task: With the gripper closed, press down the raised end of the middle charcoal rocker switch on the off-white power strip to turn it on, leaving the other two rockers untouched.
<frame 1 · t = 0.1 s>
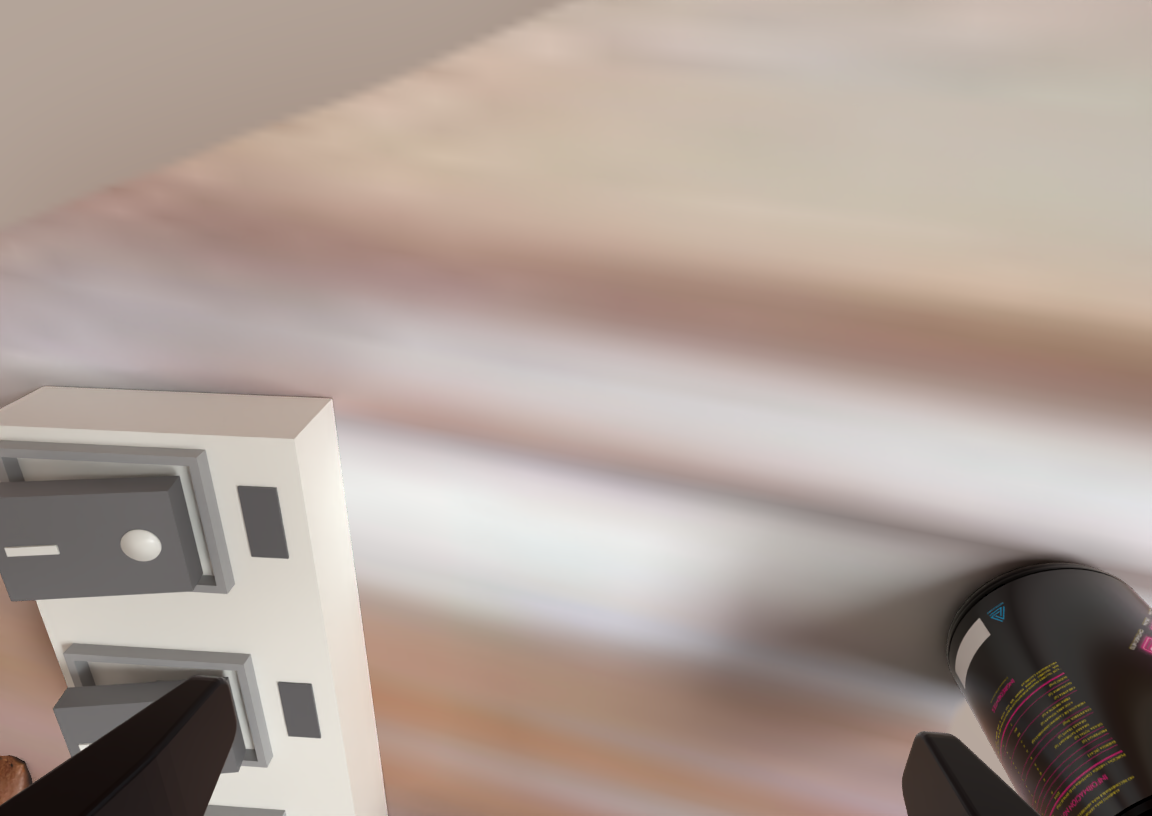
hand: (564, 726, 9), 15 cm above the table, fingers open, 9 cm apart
power strip: (243, 644, 29), on the table
supplement container: (1032, 625, 26), on the table
rocker 1: (94, 539, 21), point 4 cm above the table, hinge at 10.0°
rocker middle: (154, 731, 25), point 4 cm above the table, hinge at 10.0°
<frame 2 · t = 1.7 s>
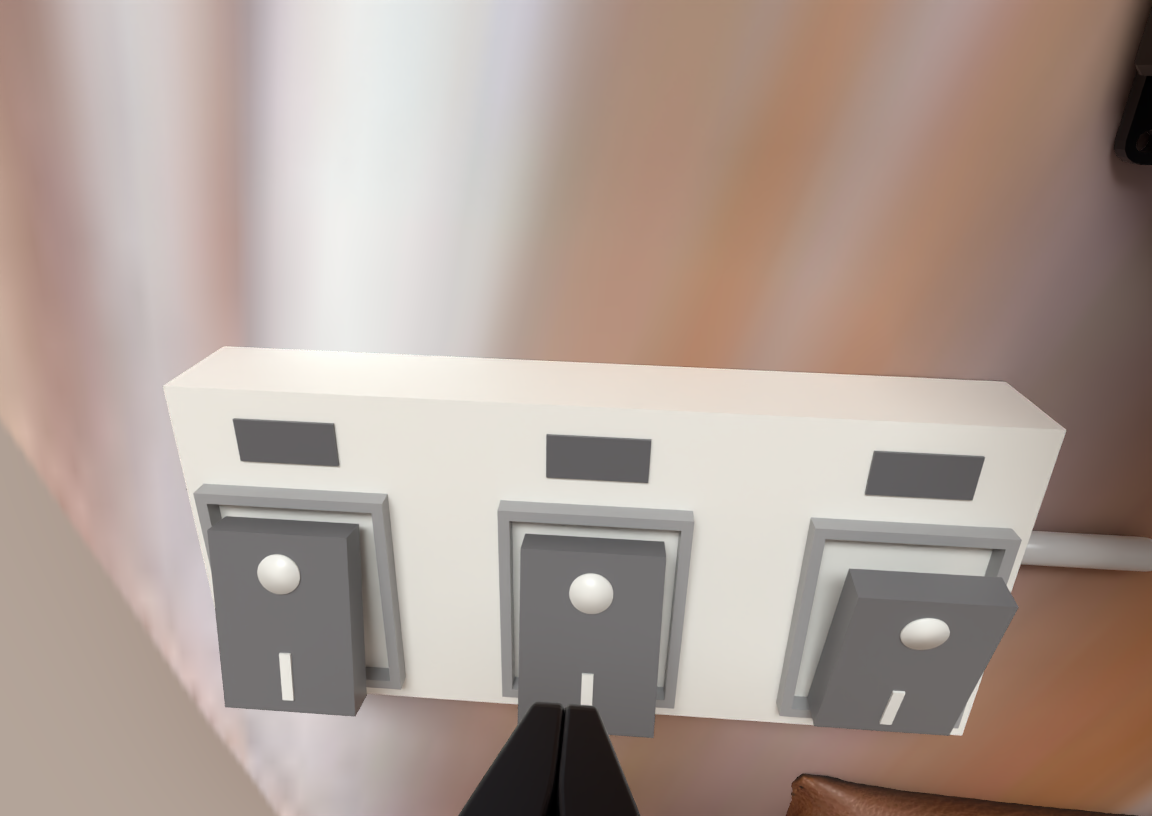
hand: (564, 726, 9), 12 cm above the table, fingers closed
rocker 2: (902, 657, 18), point 4 cm above the table, hinge at -10.0°
power strip: (597, 514, 22), on the table
rocker 1: (290, 617, 19), point 4 cm above the table, hinge at 10.0°
rocker middle: (589, 637, 19), point 4 cm above the table, hinge at 10.0°
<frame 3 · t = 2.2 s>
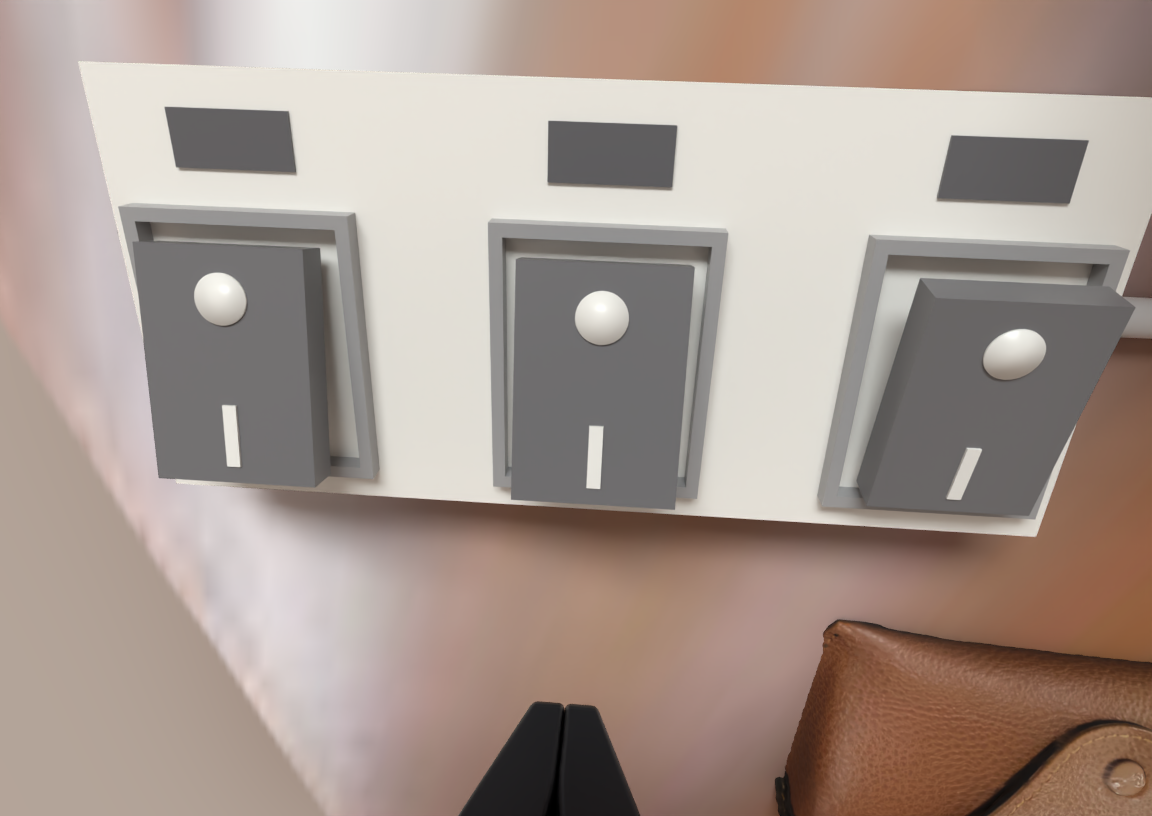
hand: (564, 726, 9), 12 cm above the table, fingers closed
sunglasses case: (1044, 720, 25), on the table
rocker 2: (978, 405, 15), point 4 cm above the table, hinge at -10.0°
power strip: (606, 287, 19), on the table
rocker 1: (237, 365, 16), point 4 cm above the table, hinge at 10.0°
rocker middle: (598, 384, 15), point 4 cm above the table, hinge at 10.0°
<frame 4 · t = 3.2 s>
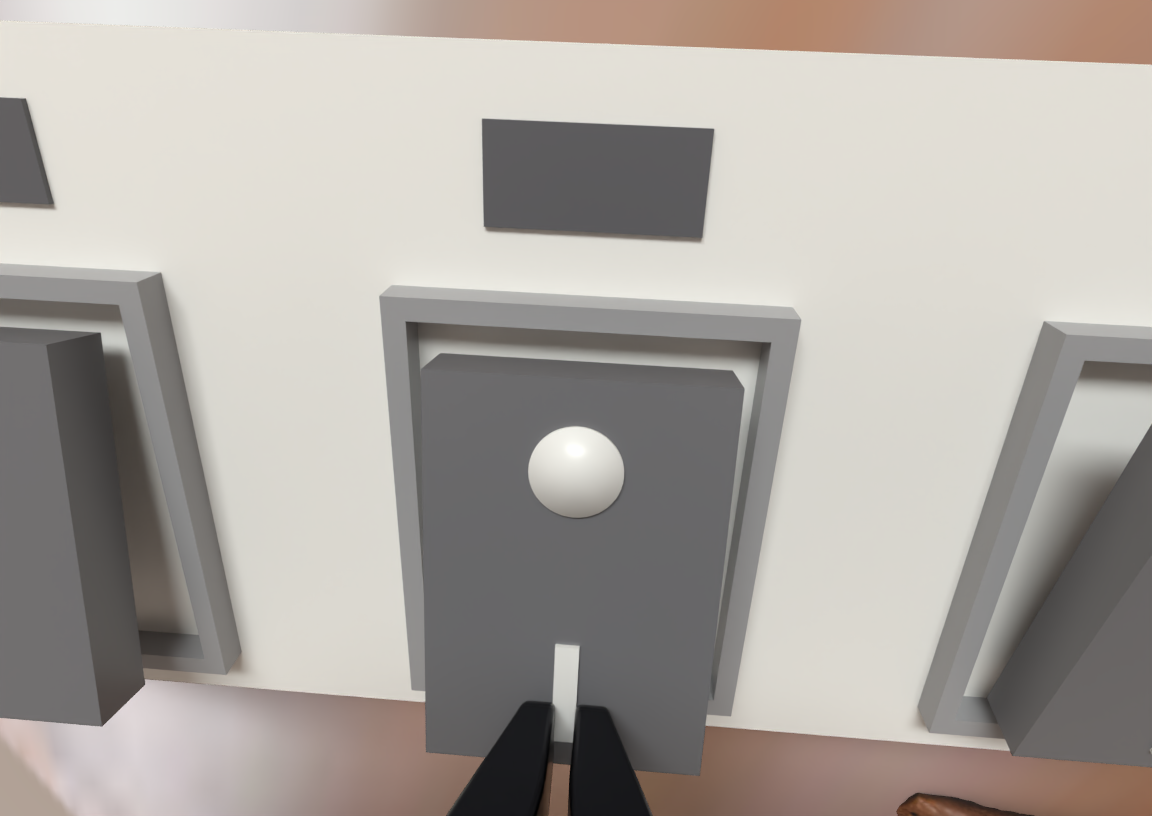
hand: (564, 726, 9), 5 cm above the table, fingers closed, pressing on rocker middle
power strip: (592, 369, 13), on the table
rocker middle: (572, 570, 9), point 4 cm above the table, hinge at 8.9°, touching gripper
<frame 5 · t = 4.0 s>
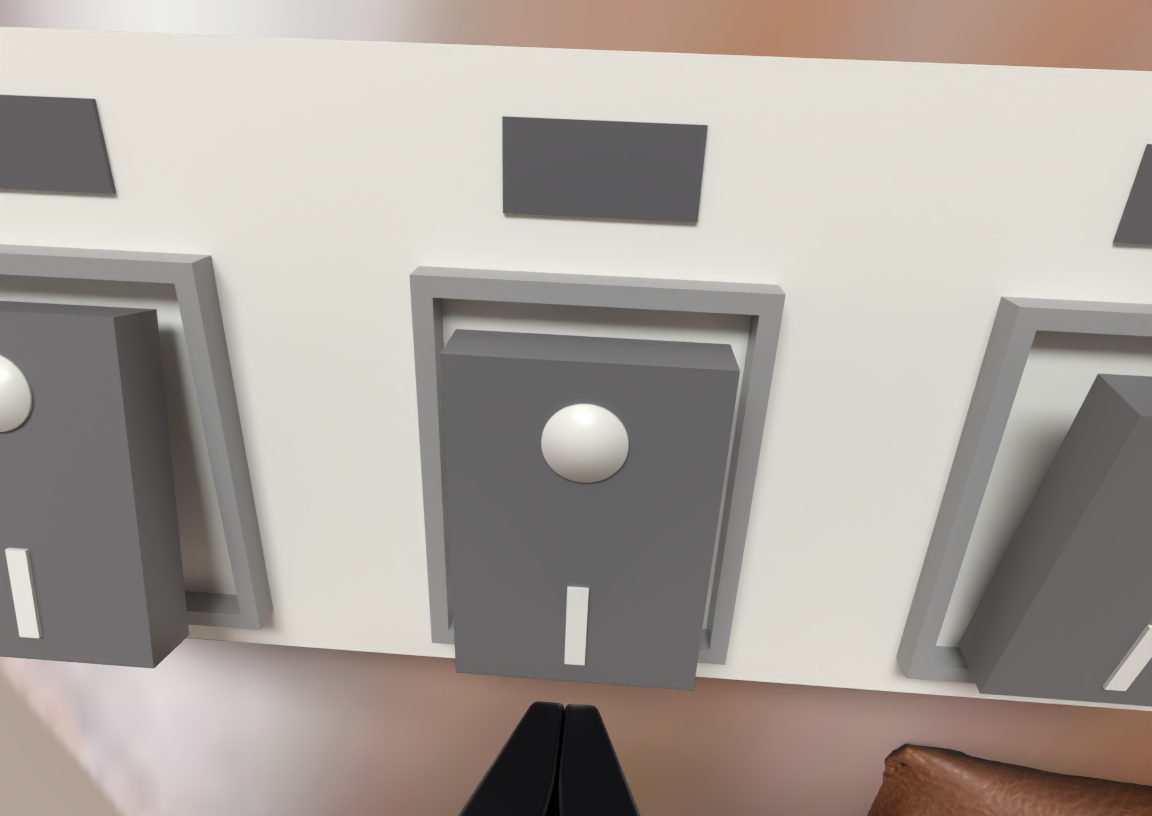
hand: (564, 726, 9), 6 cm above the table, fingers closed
power strip: (597, 350, 14), on the table
rocker 1: (33, 485, 10), point 4 cm above the table, hinge at 10.0°
rocker middle: (582, 522, 10), point 4 cm above the table, hinge at -1.1°
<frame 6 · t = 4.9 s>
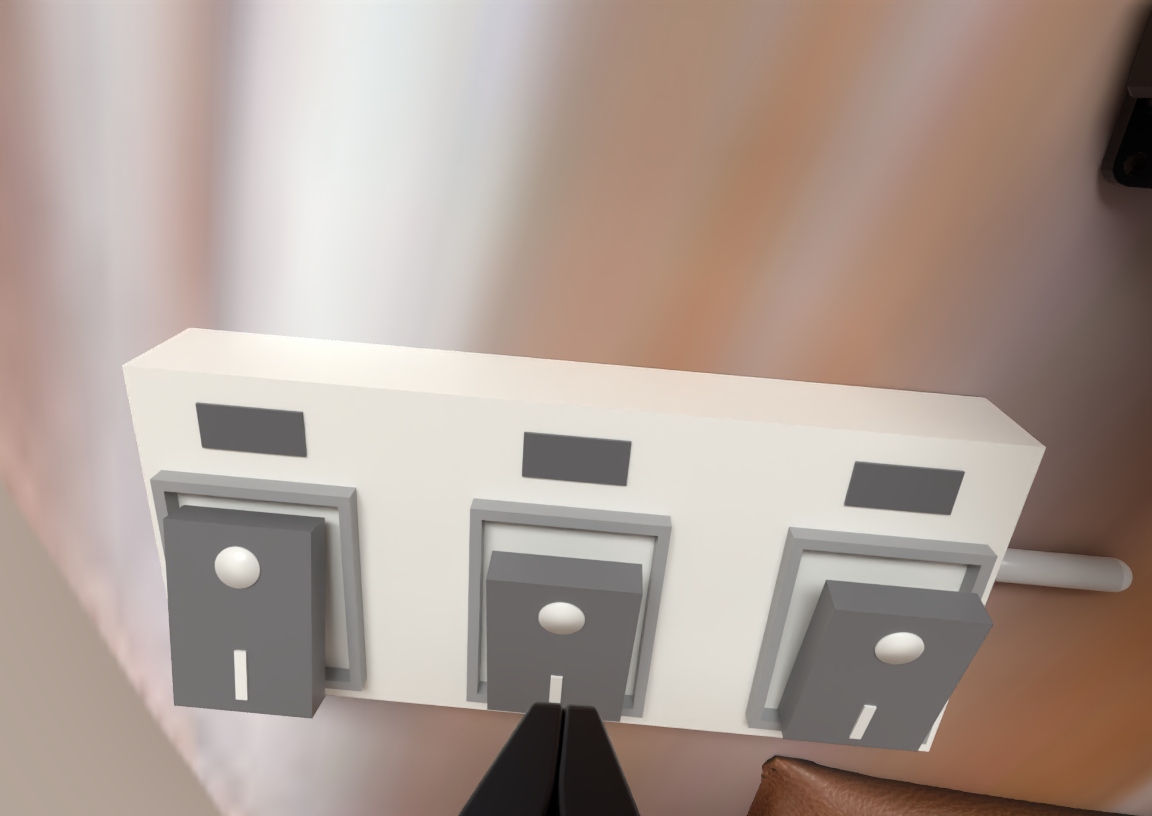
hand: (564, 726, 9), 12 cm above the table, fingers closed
rocker 2: (874, 671, 18), point 4 cm above the table, hinge at -10.0°
power strip: (571, 516, 22), on the table
rocker 1: (248, 613, 18), point 4 cm above the table, hinge at 10.0°
rocker middle: (559, 642, 18), point 4 cm above the table, hinge at -11.1°
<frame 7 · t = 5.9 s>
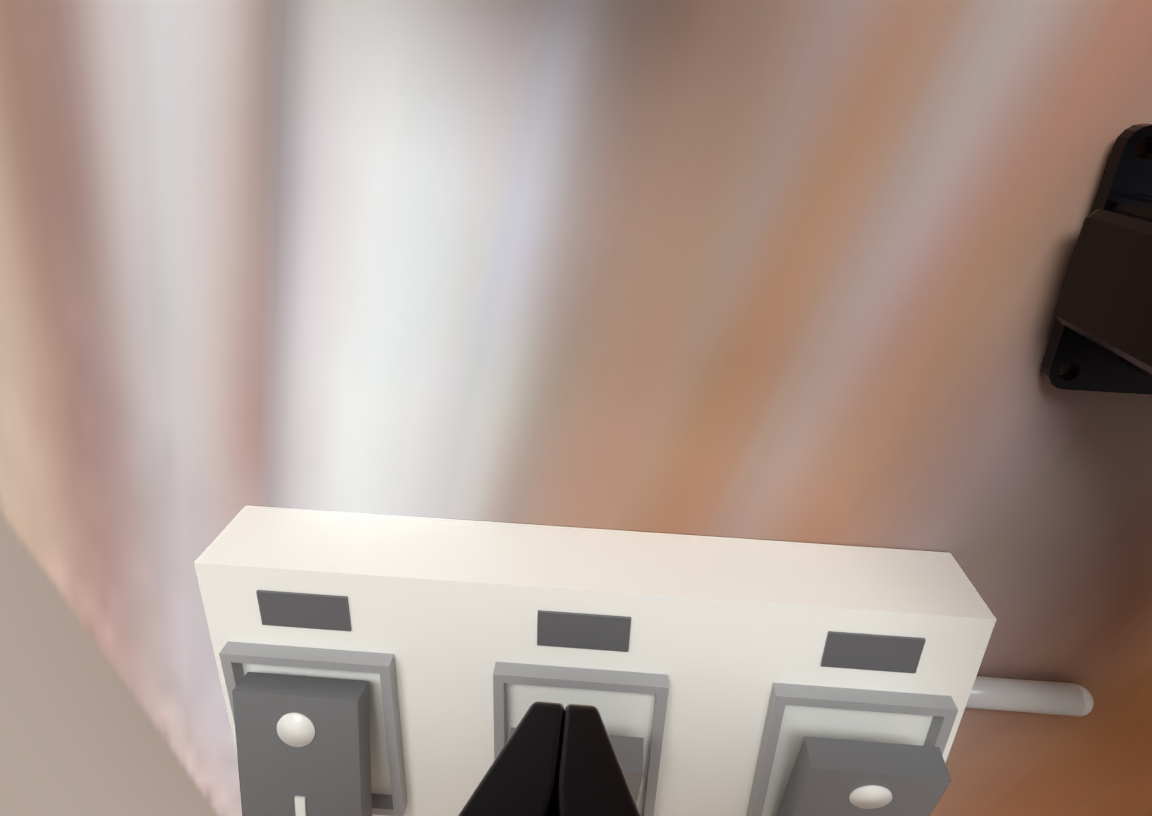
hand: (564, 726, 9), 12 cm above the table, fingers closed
rocker 2: (852, 808, 21), point 4 cm above the table, hinge at -10.0°
power strip: (583, 651, 24), on the table
rocker 1: (305, 762, 21), point 4 cm above the table, hinge at 10.0°
rocker middle: (574, 785, 21), point 4 cm above the table, hinge at -19.5°
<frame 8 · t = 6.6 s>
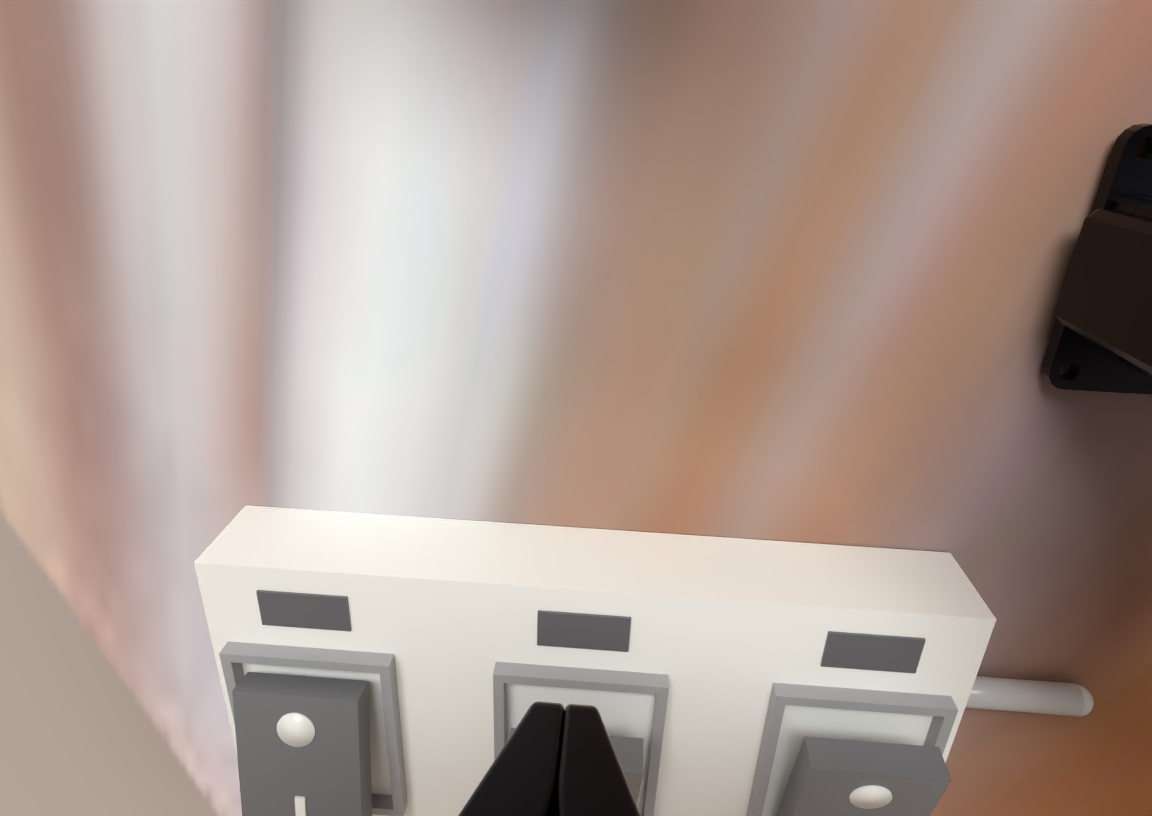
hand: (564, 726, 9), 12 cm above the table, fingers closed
rocker 2: (852, 808, 21), point 4 cm above the table, hinge at -10.0°
power strip: (583, 651, 24), on the table
rocker 1: (305, 762, 21), point 4 cm above the table, hinge at 10.0°
rocker middle: (574, 785, 21), point 4 cm above the table, hinge at -19.8°, touching power strip
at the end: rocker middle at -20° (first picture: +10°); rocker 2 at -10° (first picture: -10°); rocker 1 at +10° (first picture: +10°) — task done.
